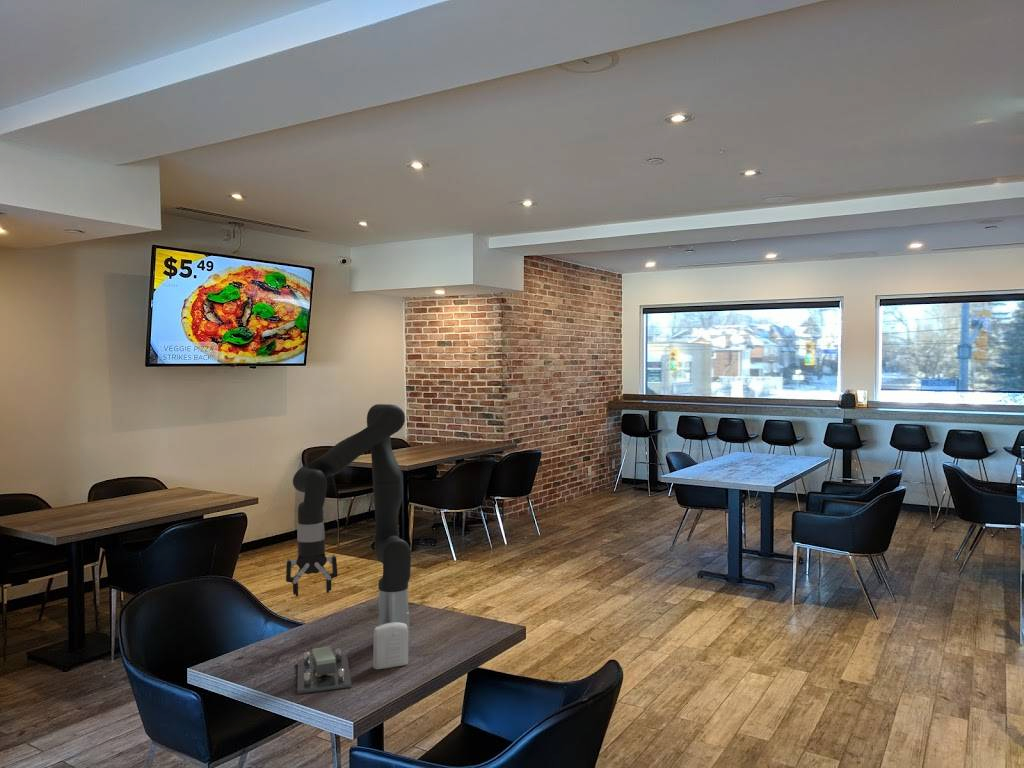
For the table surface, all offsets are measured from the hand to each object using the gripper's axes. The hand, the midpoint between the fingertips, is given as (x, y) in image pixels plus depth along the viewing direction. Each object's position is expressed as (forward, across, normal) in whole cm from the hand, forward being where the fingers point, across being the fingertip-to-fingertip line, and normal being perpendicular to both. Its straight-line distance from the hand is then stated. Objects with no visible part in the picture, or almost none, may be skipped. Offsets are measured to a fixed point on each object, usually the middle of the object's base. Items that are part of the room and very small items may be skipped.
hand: (312, 594), depth 207 cm
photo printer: (+22, -21, +5) cm, 31 cm away
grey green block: (+20, -2, +6) cm, 21 cm away
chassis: (+22, -2, +6) cm, 22 cm away
